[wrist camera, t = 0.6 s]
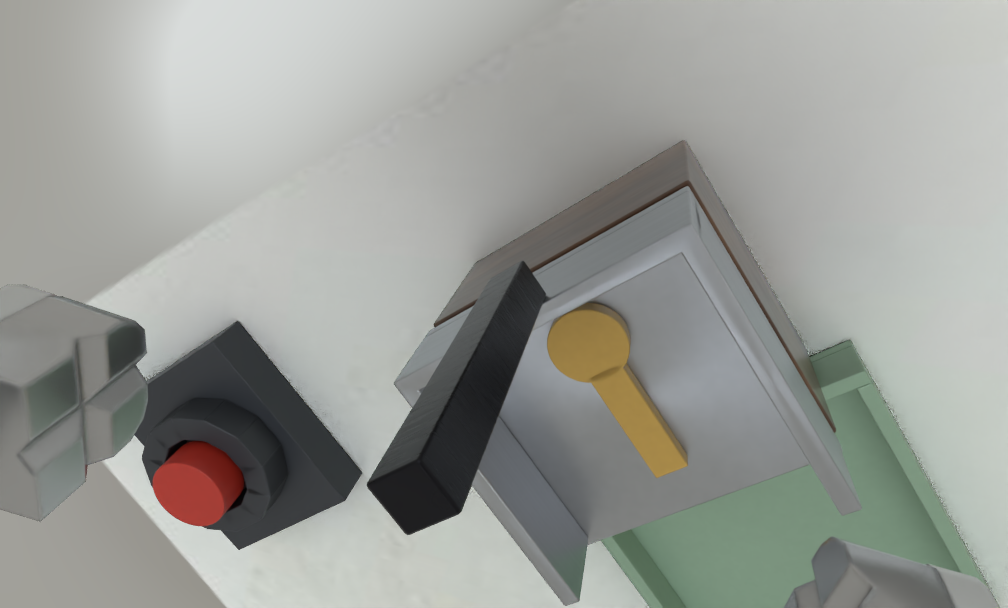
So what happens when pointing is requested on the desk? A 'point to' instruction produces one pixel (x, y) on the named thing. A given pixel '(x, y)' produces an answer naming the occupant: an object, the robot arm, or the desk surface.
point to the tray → (798, 514)
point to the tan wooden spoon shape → (614, 380)
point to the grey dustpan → (581, 411)
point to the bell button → (198, 483)
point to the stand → (622, 204)
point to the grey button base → (247, 435)
